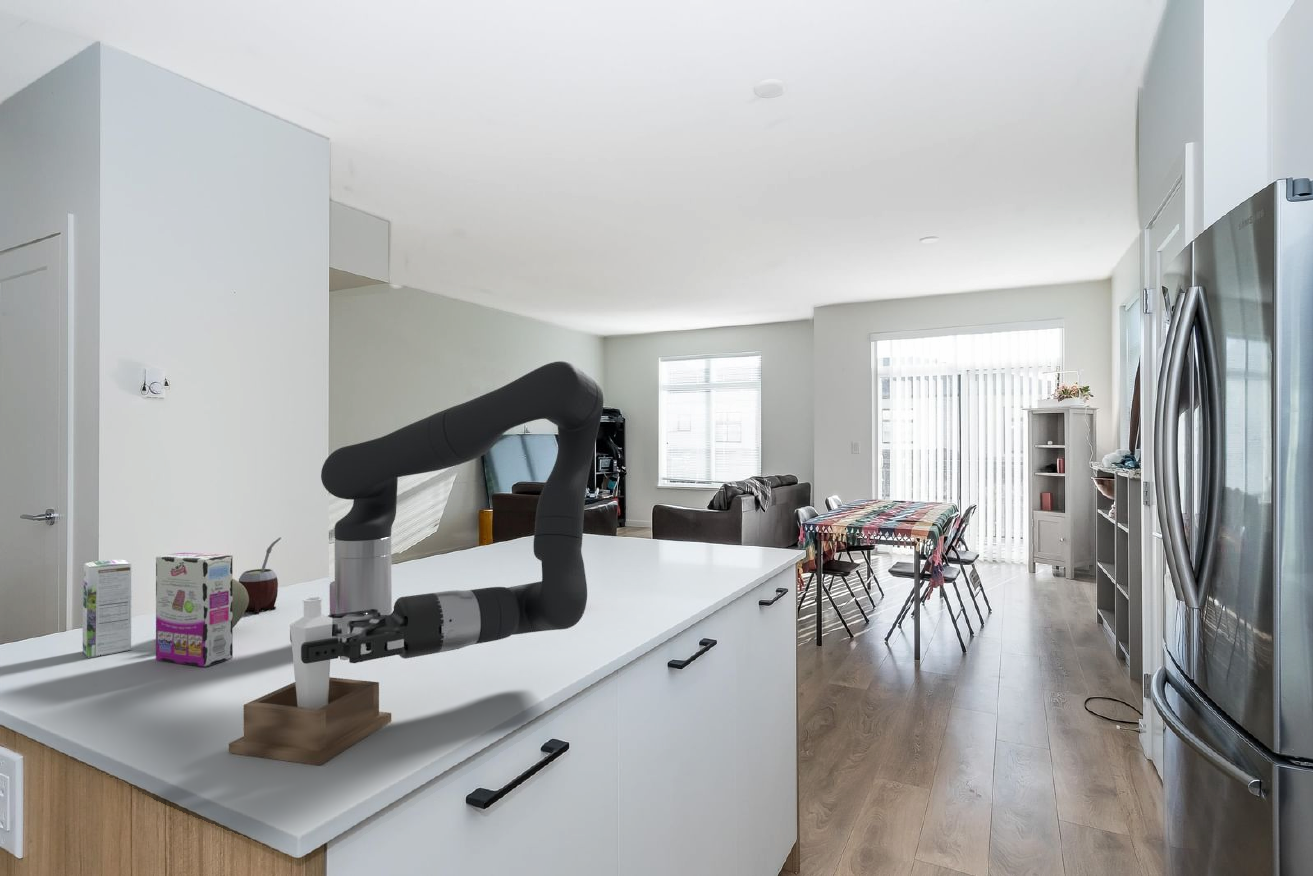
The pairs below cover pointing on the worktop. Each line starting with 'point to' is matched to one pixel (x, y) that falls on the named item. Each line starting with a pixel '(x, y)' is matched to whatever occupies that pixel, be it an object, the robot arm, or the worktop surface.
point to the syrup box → (107, 607)
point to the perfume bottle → (313, 675)
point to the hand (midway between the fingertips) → (295, 644)
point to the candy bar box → (194, 608)
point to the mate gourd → (261, 586)
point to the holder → (310, 723)
